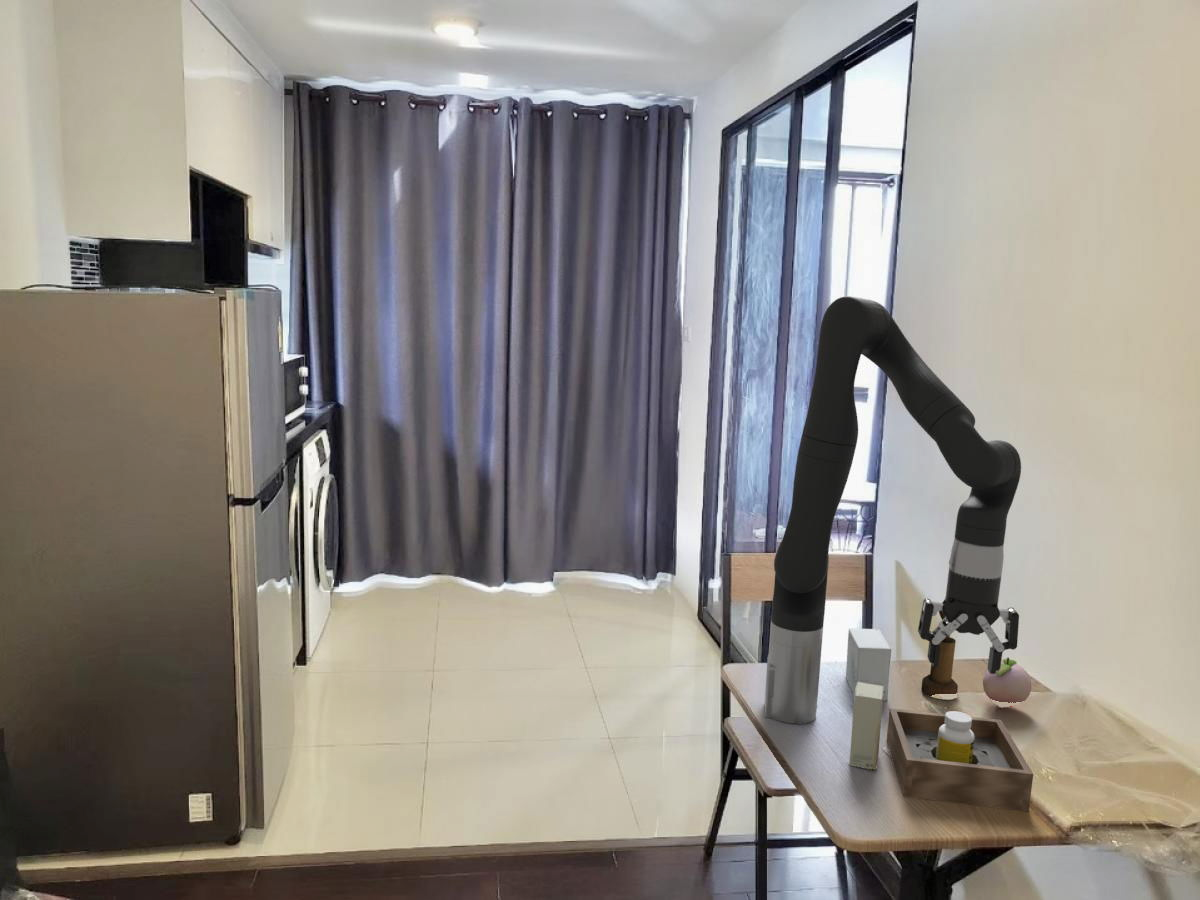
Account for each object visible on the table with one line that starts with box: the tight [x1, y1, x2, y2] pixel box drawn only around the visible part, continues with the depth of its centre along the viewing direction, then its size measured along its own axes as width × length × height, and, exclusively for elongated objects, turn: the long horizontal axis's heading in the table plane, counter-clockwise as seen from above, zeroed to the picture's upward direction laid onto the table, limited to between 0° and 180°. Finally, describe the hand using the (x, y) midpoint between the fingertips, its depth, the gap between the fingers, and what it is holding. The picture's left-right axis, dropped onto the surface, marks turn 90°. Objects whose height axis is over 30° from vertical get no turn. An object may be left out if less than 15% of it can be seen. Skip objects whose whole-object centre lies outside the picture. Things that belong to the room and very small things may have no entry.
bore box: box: [886, 708, 1034, 812], centre depth 143 cm, size 18×18×6 cm
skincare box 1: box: [845, 627, 892, 701], centre depth 175 cm, size 10×6×10 cm, turn 175°
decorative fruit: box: [982, 657, 1032, 703], centre depth 168 cm, size 9×8×10 cm
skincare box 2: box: [849, 682, 884, 771], centre depth 146 cm, size 6×4×12 cm
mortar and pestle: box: [920, 610, 959, 697], centre depth 173 cm, size 7×6×18 cm
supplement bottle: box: [935, 710, 975, 764], centre depth 143 cm, size 5×5×10 cm
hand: (962, 668), depth 141 cm, fingers open, 8 cm apart
